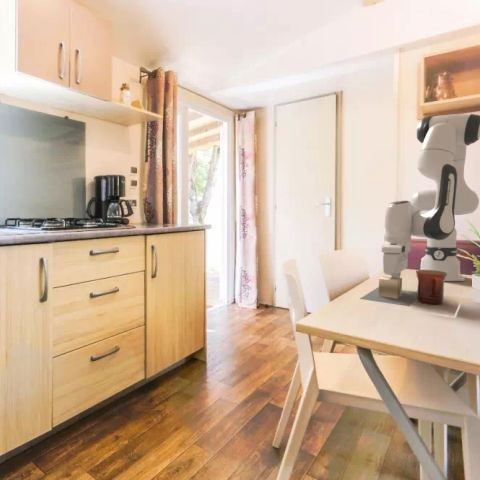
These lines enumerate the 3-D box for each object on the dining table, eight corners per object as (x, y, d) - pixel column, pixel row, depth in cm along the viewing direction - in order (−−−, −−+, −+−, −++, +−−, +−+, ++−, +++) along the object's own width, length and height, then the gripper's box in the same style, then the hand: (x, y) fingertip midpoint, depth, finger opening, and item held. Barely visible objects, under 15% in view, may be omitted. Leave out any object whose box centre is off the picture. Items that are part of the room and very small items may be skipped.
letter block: (383, 276, 122) (379, 278, 117) (402, 278, 118) (397, 280, 114) (383, 292, 123) (378, 295, 118) (401, 295, 119) (397, 298, 114)
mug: (411, 299, 115) (412, 269, 115) (439, 300, 114) (441, 270, 113) (422, 309, 104) (424, 275, 103) (454, 311, 102) (456, 277, 101)
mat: (378, 288, 132) (378, 287, 132) (421, 294, 123) (421, 292, 123) (359, 300, 114) (359, 298, 114) (408, 307, 105) (409, 306, 105)
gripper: (394, 243, 133) (393, 278, 134) (380, 247, 117) (378, 287, 118) (412, 244, 129) (411, 280, 130) (400, 249, 113) (398, 290, 114)
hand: (395, 284), depth 124 cm, fingers closed
